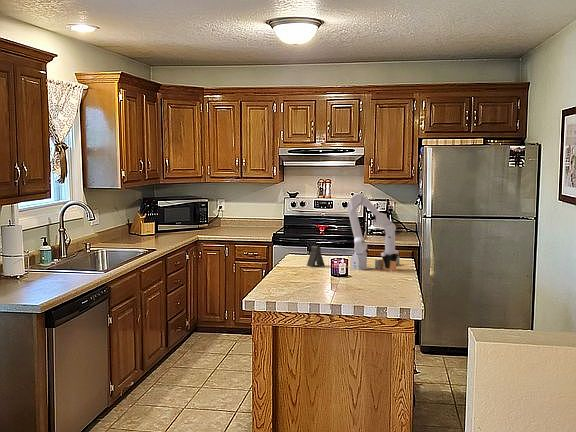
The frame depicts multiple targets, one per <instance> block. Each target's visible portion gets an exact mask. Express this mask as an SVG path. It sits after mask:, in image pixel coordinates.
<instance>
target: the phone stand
mask: <svg viewBox="0 0 576 432" xmlns="http://www.w3.org/2000/svg"><path fill="white" fill-rule="evenodd" d="M306 266H307V267H310V268H318V267H325V266H326V265H325V261H324V258H323V256H322V251H321V247H320V246H318V245H311V247H310V253H309V257H308V260H307V263H306Z"/></svg>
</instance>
